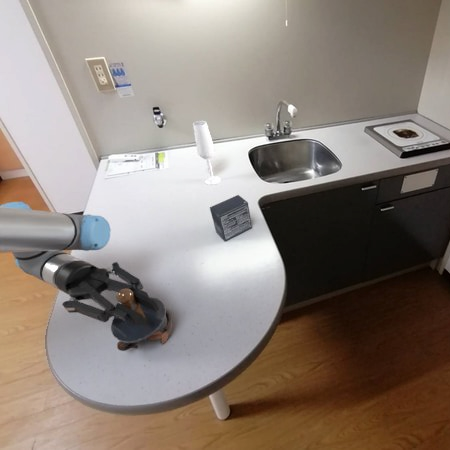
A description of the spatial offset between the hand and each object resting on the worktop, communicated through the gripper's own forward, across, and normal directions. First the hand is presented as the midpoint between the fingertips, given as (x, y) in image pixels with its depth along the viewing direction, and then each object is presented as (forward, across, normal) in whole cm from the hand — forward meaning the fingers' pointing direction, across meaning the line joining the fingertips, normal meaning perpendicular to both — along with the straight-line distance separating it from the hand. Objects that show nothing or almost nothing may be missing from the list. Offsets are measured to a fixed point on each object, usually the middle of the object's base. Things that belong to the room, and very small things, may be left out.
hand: (149, 313), depth 61 cm
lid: (-5, 0, -6) cm, 8 cm away
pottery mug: (-6, 0, -13) cm, 15 cm away
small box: (-10, -40, -14) cm, 43 cm away
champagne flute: (-35, -62, -14) cm, 73 cm away
